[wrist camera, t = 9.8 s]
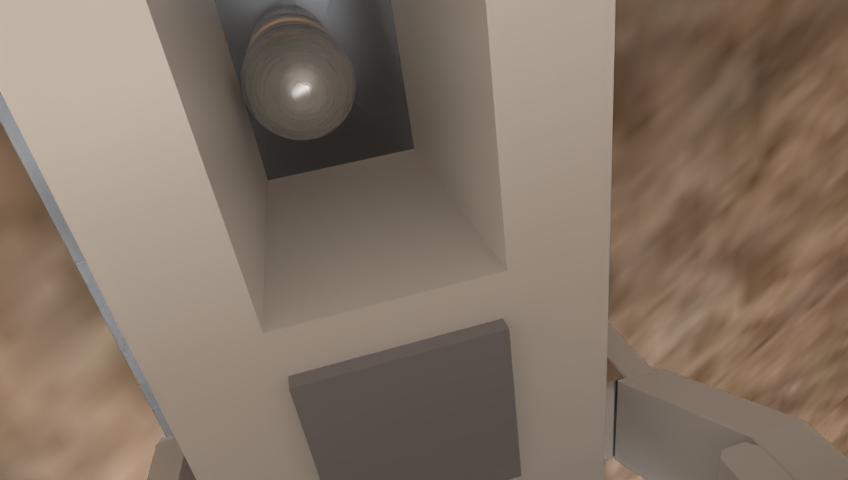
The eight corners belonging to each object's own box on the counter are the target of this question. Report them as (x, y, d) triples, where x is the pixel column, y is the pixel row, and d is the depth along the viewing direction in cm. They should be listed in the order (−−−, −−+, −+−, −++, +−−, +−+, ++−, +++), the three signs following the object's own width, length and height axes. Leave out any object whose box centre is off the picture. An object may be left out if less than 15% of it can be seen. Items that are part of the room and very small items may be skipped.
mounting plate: (515, -340, 11) (771, -664, 5) (556, 479, 22) (651, 649, 17) (-174, -275, 9) (-881, -657, 3) (256, 578, 20) (249, 804, 15)
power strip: (434, -310, 7) (651, -679, 3) (521, 580, 17) (601, 781, 12) (23, -273, 6) (-421, -693, 2) (358, 636, 16) (388, 868, 12)
